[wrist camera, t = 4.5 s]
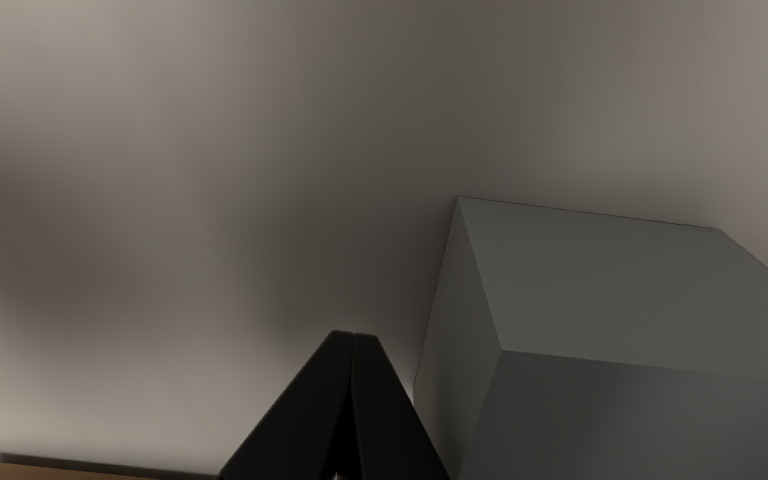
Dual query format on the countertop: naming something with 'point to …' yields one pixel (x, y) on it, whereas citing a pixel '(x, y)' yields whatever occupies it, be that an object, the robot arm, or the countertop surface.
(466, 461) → the block
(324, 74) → the countertop surface
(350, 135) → the countertop surface
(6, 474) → the gate
